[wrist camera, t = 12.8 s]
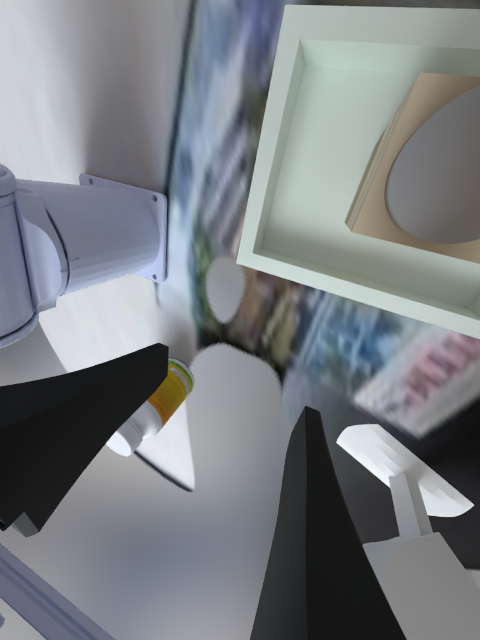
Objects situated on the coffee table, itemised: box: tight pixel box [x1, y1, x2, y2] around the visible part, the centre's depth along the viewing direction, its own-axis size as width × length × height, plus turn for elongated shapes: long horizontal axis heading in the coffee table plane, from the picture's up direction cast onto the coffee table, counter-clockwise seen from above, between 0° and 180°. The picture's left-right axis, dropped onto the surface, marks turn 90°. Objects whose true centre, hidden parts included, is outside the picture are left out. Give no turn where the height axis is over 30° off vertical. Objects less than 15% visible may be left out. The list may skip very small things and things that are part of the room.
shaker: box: [344, 72, 480, 264], centre depth 9 cm, size 4×4×9 cm
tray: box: [237, 5, 480, 339], centre depth 12 cm, size 16×12×3 cm
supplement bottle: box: [106, 358, 194, 456], centre depth 24 cm, size 5×5×10 cm
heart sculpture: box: [336, 424, 480, 640], centre depth 14 cm, size 16×5×18 cm, turn 56°
